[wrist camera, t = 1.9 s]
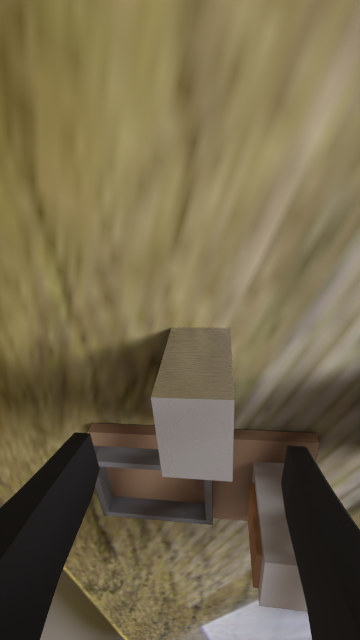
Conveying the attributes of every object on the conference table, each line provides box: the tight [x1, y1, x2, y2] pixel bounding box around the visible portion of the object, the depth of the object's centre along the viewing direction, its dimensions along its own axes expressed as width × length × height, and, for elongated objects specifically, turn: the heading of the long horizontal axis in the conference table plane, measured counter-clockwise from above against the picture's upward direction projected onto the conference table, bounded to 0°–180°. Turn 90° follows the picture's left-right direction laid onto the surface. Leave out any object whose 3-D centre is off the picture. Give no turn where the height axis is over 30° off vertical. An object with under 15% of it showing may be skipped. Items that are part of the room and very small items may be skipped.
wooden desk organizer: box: [88, 423, 320, 612], centre depth 24 cm, size 19×11×8 cm, turn 93°
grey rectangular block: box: [151, 328, 234, 482], centre depth 19 cm, size 4×6×7 cm, turn 3°
